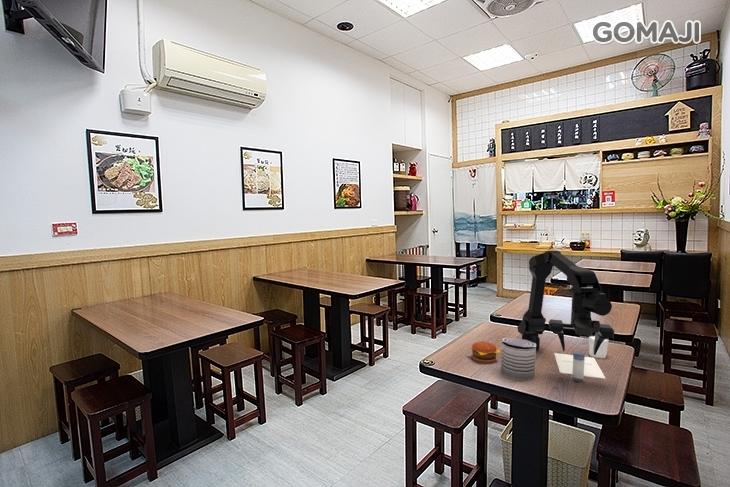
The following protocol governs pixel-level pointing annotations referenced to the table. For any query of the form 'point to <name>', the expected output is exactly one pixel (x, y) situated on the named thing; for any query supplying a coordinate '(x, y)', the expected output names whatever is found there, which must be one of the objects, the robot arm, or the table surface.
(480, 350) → the hamburger
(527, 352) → the can
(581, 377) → the marker
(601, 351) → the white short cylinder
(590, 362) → the paper
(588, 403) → the table surface
